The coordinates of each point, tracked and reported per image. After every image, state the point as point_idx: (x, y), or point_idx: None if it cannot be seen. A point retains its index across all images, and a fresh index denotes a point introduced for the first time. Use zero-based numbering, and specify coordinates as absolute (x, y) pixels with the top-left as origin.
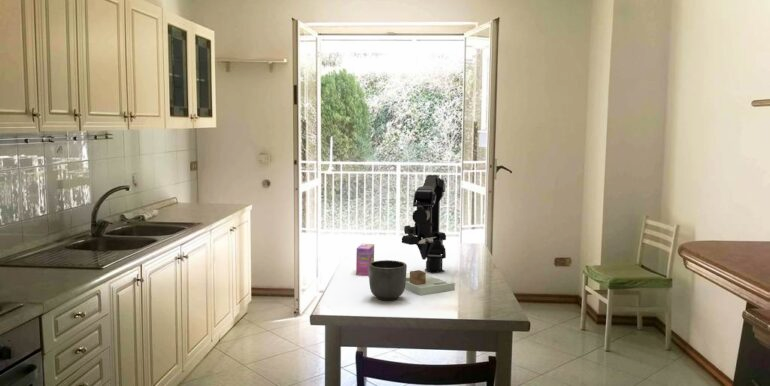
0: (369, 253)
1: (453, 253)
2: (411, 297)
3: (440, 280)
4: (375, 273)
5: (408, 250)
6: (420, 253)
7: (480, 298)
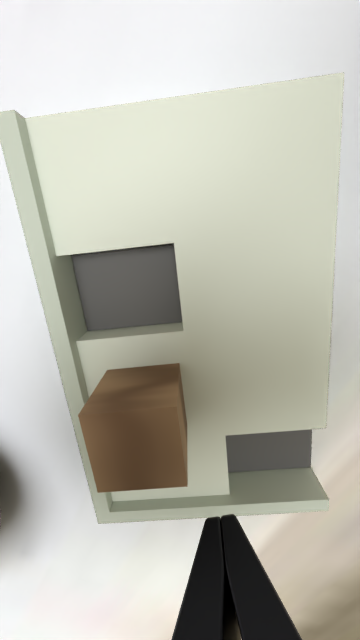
0: None
1: None
2: (61, 499)
3: (315, 394)
4: None
5: None
6: (175, 626)
7: (321, 595)
